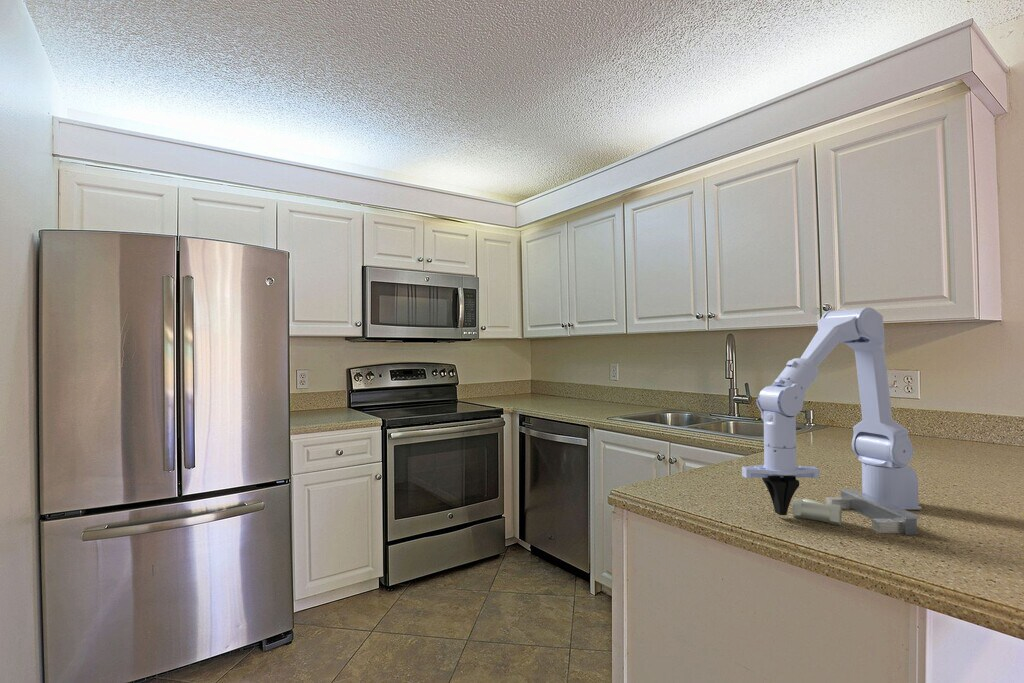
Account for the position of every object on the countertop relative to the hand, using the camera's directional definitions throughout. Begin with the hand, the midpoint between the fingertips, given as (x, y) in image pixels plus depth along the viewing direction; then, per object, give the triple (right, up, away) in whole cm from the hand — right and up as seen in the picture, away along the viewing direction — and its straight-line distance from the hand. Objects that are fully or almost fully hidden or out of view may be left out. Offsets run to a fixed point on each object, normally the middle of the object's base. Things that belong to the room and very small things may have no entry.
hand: (780, 513), depth 100 cm
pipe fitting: (+8, -2, 0) cm, 8 cm away
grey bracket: (+17, -1, 0) cm, 17 cm away
